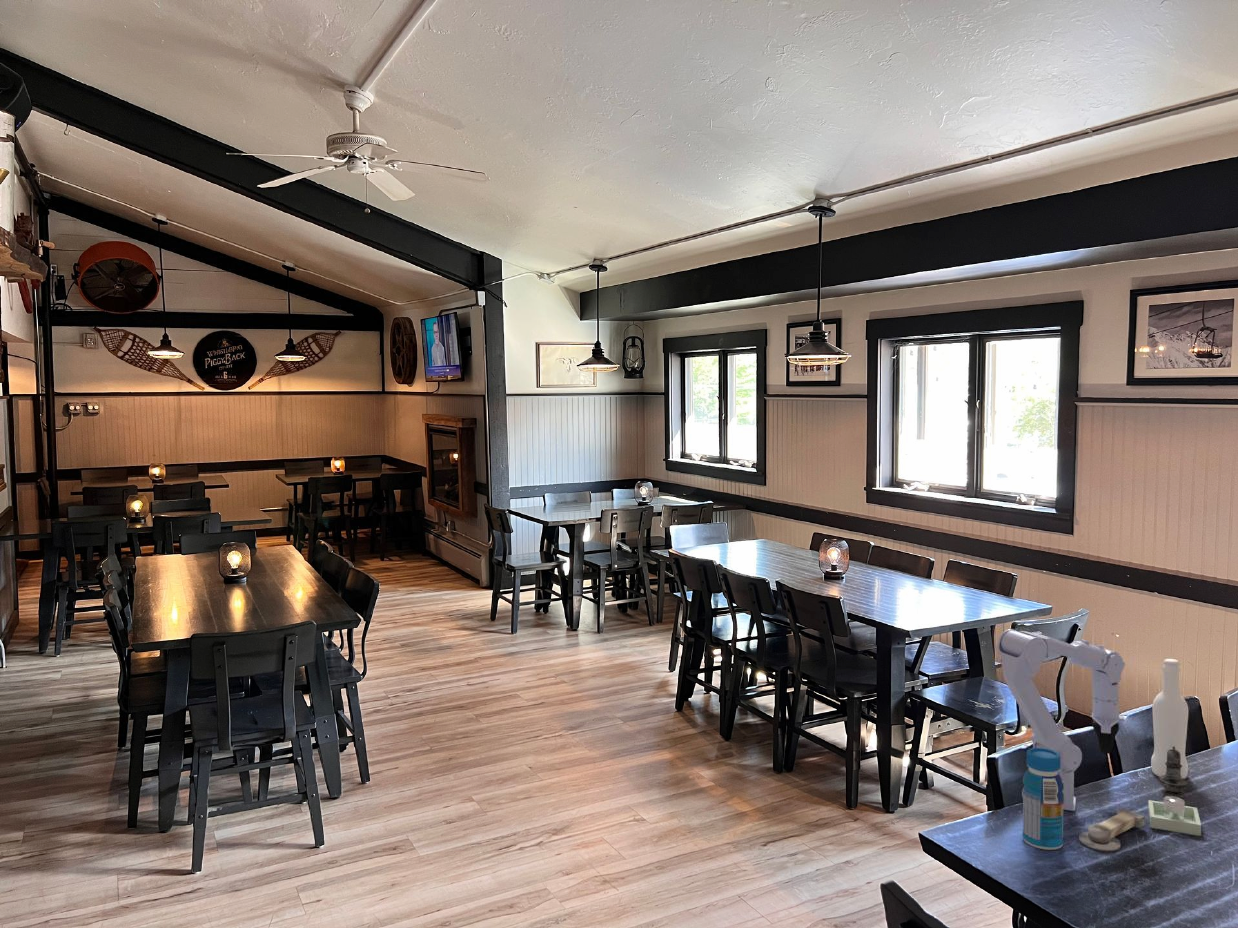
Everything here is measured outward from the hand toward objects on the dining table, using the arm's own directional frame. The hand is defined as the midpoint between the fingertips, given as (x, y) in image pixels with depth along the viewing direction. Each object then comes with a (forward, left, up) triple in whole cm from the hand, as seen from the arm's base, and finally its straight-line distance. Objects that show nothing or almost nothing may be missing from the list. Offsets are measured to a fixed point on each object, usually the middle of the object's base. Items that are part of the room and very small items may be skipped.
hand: (1105, 752), depth 221 cm
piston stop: (+14, -11, -10) cm, 20 cm away
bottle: (+15, +20, -11) cm, 27 cm away
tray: (+14, -11, -10) cm, 20 cm away
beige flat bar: (+1, -23, -9) cm, 25 cm away
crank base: (-1, -28, -10) cm, 30 cm away
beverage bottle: (-12, -33, -11) cm, 37 cm away
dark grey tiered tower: (+15, +7, -11) cm, 19 cm away
